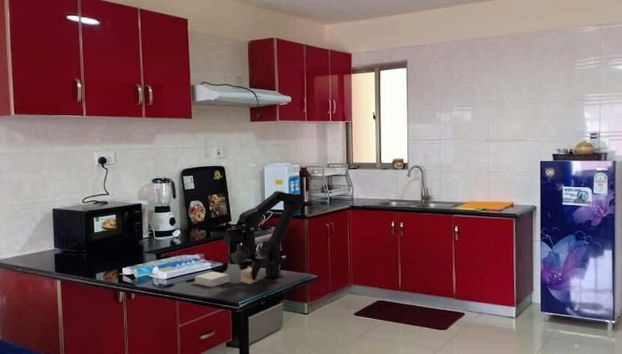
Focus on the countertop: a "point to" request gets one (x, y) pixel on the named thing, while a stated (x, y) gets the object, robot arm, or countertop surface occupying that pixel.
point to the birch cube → (247, 276)
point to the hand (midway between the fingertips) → (249, 279)
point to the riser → (211, 279)
